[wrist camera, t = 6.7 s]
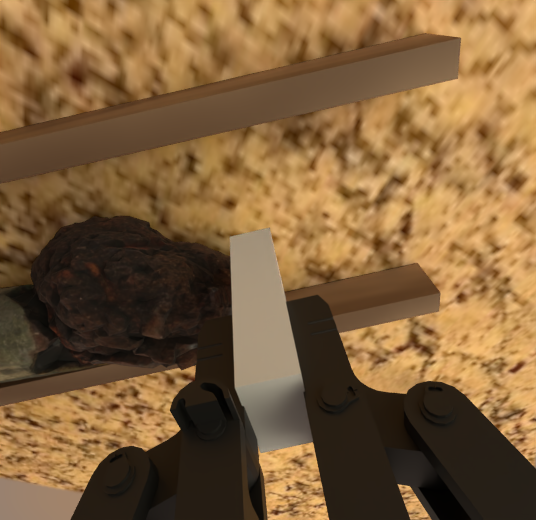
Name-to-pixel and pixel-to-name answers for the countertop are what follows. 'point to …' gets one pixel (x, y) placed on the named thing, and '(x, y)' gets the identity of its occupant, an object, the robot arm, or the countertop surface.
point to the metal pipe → (111, 301)
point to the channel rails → (227, 119)
